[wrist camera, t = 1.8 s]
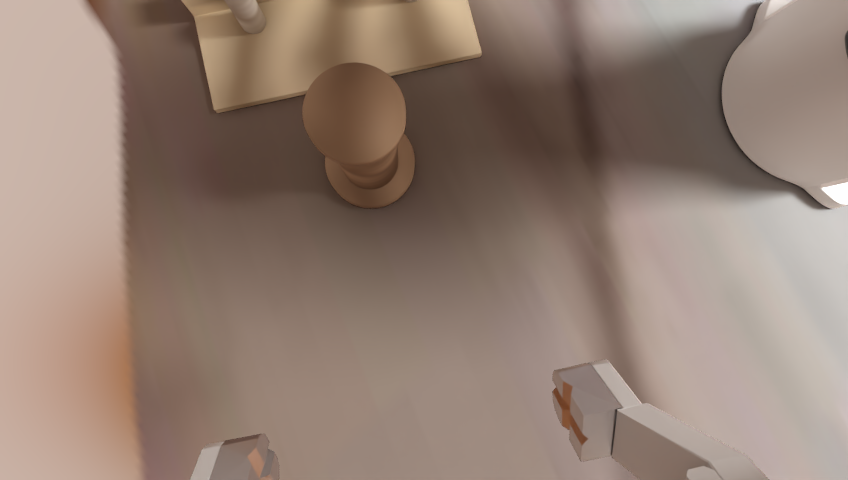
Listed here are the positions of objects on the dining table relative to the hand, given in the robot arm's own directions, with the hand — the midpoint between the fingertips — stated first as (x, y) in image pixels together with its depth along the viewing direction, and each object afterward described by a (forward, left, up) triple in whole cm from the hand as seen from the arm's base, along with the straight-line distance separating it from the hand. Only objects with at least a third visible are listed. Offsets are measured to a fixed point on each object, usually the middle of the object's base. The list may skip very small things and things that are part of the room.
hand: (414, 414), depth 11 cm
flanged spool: (0, -13, -20) cm, 24 cm away
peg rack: (0, -25, -20) cm, 32 cm away
